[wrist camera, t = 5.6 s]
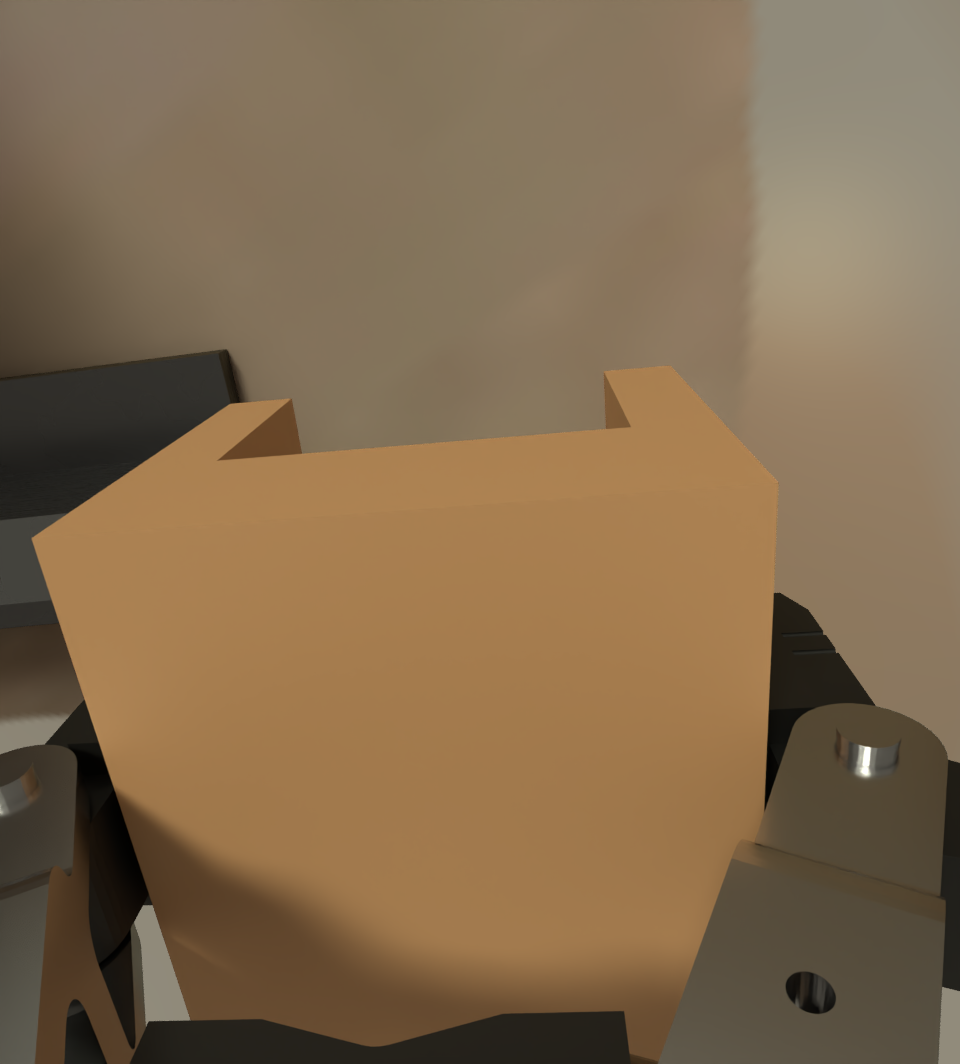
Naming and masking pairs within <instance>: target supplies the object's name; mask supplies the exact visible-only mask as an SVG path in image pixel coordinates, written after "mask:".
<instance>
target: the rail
mask: <svg viewBox="0 0 960 1064" xmlns="http://www.w3.org/2000/svg"><path fill="white" fill-rule="evenodd" d="M235 403H240V402H239V397H238V393H237V389H236V385H235V381H234V377H233V373H232V369H231V365H230V361H229V356H228V352H227V349H226V350H218V351H210V352H202V353H194V354H187V355H179V356H171V357H163V358H155V359H148V360H140V361H132V362H124V363H117V364H109V365H101V366H93V367H85V368H78V369H70V370H62V371H54V372H46V373H39V374H31V375H23V376H15V377H7V378H0V629H1V628H12V627H22V626H33V625H43V624H54V623H59V620H58V617H57V614H56V611H55V608H54V605H53V602H52V599H51V596H50V593H49V590H48V587H47V584H46V581H45V578H44V575H43V572H42V569H41V566H40V563H39V560H38V557H37V554H36V551H35V548H34V545H33V542H32V538H33V537H34V536H35V535H37V534H38V533H40V532H41V531H43V530H44V529H46V528H47V527H49V526H50V525H52V524H53V523H55V522H56V521H58V520H59V519H61V518H62V517H64V516H65V515H67V514H68V513H69V512H71V511H72V510H74V509H75V508H77V507H78V506H80V505H81V504H83V503H84V502H86V501H87V500H89V499H90V498H92V497H93V496H95V495H96V494H98V493H99V492H101V491H102V490H104V489H105V488H106V487H108V486H109V485H111V484H112V483H114V482H115V481H117V480H118V479H120V478H121V477H123V476H124V475H126V474H127V473H129V472H130V471H132V470H133V469H135V468H136V467H138V466H139V465H140V464H142V463H143V462H145V461H146V460H148V459H149V458H151V457H152V456H154V455H155V454H157V453H158V452H160V451H161V450H163V449H164V448H166V447H167V446H169V445H170V444H172V443H173V442H174V441H176V440H177V439H179V438H180V437H182V436H183V435H185V434H186V433H188V432H189V431H191V430H192V429H194V428H195V427H197V426H198V425H200V424H201V423H203V422H204V421H206V420H207V419H209V418H210V417H211V416H213V415H214V414H216V413H217V412H219V411H220V410H222V409H223V408H225V407H226V406H228V405H229V404H235Z"/></svg>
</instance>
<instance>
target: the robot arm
mask: <svg viewBox="0 0 960 1064" xmlns="http://www.w3.org/2000/svg"><path fill="white" fill-rule="evenodd" d="M143 905H152V902H151V899H150V896H149V892H148V889H147V886H146V883H145V880H144V877H143V874H142V871H141V868H140V865H139V862H138V859H137V856H136V853H135V850H134V847H133V844H132V841H131V838H130V835H129V832H128V829H127V826H126V823H125V820H124V817H123V814H122V811H121V808H120V805H119V802H118V799H117V796H116V793H115V790H114V787H113V784H112V781H111V778H110V774H109V771H108V768H107V765H106V762H105V759H104V756H103V753H102V750H101V747H100V744H99V741H98V738H97V735H96V732H95V729H94V726H93V723H92V720H91V717H90V714H89V711H88V708H87V705H86V702H85V699H84V700H83V702H82V703H81V704H80V705H79V706H78V707H77V708H76V710H75V711H74V712H73V713H72V714H71V715H70V716H69V717H68V719H67V720H66V721H65V722H64V723H63V724H62V725H61V727H60V728H59V729H58V730H57V731H56V732H55V733H54V735H53V736H52V737H51V738H50V739H49V740H48V741H47V743H46V744H45V745H35V746H29V747H24V748H20V749H16V750H12V751H9V752H7V753H3V754H0V1064H938V1057H939V1037H940V1016H941V997H942V987H945V988H949V989H954V990H957V991H960V763H958V762H954V761H950V760H948V756H947V752H946V750H945V747H944V745H943V744H942V742H941V741H940V740H939V739H938V737H937V736H935V734H934V733H933V732H932V731H930V730H929V729H928V728H926V727H925V726H924V725H922V724H921V723H919V722H917V721H915V720H913V719H911V718H910V717H907V716H905V715H903V714H900V713H898V712H895V711H892V710H889V709H885V708H881V707H877V706H875V704H874V703H873V701H872V700H871V698H870V697H869V696H868V694H867V693H866V691H865V690H864V688H863V687H862V686H861V684H860V683H859V681H858V680H857V679H856V677H855V676H854V674H853V673H852V671H851V670H850V669H849V667H848V666H847V664H846V663H845V661H844V660H843V659H842V657H841V656H840V654H839V653H836V652H835V647H834V646H833V644H832V643H831V642H830V640H829V639H828V637H827V636H826V635H823V630H822V629H821V627H820V626H819V624H818V623H817V622H816V620H815V619H814V617H813V616H812V615H811V613H810V612H809V610H808V609H806V608H804V607H803V606H801V605H799V604H798V603H796V602H794V601H793V600H791V599H789V598H788V597H786V596H784V595H783V594H781V593H774V598H773V621H772V644H771V666H770V689H769V712H768V735H767V757H766V780H765V803H764V815H763V818H762V821H761V824H760V827H759V830H758V833H757V836H756V839H755V842H751V841H748V840H744V839H742V840H740V841H739V843H738V844H737V846H736V848H735V850H734V853H733V856H732V858H731V861H730V864H729V866H728V869H727V872H726V875H725V878H724V880H723V883H722V886H721V889H720V892H719V894H718V897H717V900H716V903H715V906H714V908H713V911H712V914H711V917H710V919H709V922H708V925H707V928H706V931H705V933H704V936H703V939H702V942H701V945H700V947H699V950H698V953H697V956H696V958H695V961H694V964H693V967H692V970H691V972H690V975H689V978H688V981H687V984H686V986H685V989H684V992H683V995H682V997H681V1000H680V1003H679V1006H678V1009H677V1011H676V1014H675V1017H674V1020H673V1023H672V1025H671V1028H670V1031H669V1034H668V1037H667V1039H666V1042H665V1045H664V1048H663V1050H662V1053H661V1056H660V1059H659V1062H658V1061H655V1060H652V1059H648V1058H644V1057H641V1056H637V1055H633V1054H630V1053H629V1045H628V1037H627V1030H626V1022H625V1014H624V1011H601V1012H556V1013H511V1014H500V1015H496V1016H493V1017H489V1018H485V1019H482V1020H478V1021H474V1022H471V1023H467V1024H463V1025H460V1026H456V1027H452V1028H448V1029H445V1030H441V1031H437V1032H434V1033H430V1034H426V1035H423V1036H419V1037H415V1038H412V1039H408V1040H404V1041H401V1042H397V1043H393V1044H390V1045H385V1046H375V1047H370V1046H364V1045H360V1044H356V1043H352V1042H348V1041H344V1040H340V1039H337V1038H333V1037H329V1036H325V1035H321V1034H317V1033H313V1032H310V1031H306V1030H302V1029H298V1028H294V1027H290V1026H286V1025H283V1024H279V1023H275V1022H271V1021H267V1020H263V1019H239V1020H193V1021H149V1022H148V1024H147V1026H146V1022H145V1005H144V989H143V988H144V987H143V972H142V955H141V944H140V939H139V936H138V933H137V930H136V927H135V925H134V921H135V919H136V917H137V915H138V913H139V911H140V910H141V908H142V906H143Z"/></svg>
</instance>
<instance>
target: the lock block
mask: <svg viewBox="0 0 960 1064" xmlns="http://www.w3.org/2000/svg"><path fill="white" fill-rule="evenodd" d="M604 389H605V415H606V429H602V430H590V431H578V432H565V433H553V434H541V435H528V436H516V437H504V438H491V439H479V440H467V441H454V442H442V443H430V444H417V445H405V446H393V447H380V448H368V449H356V450H343V451H331V452H319V453H306V454H302V452H301V446H300V441H299V436H298V430H297V425H296V420H295V414H294V409H293V403H292V399H281V400H269V401H258V402H246V403H235V404H229V405H228V406H226V407H225V408H223V409H222V410H220V411H219V412H217V413H216V414H214V415H213V416H211V417H210V418H209V419H207V420H206V421H204V422H203V423H201V424H200V425H198V426H197V427H195V428H194V429H192V430H191V431H189V432H188V433H186V434H185V435H183V436H182V437H180V438H179V439H177V440H176V441H174V442H173V443H172V444H170V445H169V446H167V447H166V448H164V449H163V450H161V451H160V452H158V453H157V454H155V455H154V456H152V457H151V458H149V459H148V460H146V461H145V462H143V463H142V464H140V465H139V466H138V467H136V468H135V469H133V470H132V471H130V472H129V473H127V474H126V475H124V476H123V477H121V478H120V479H118V480H117V481H115V482H114V483H112V484H111V485H109V486H108V487H106V488H105V489H104V490H102V491H101V492H99V493H98V494H96V495H95V496H93V497H92V498H90V499H89V500H87V501H86V502H84V503H83V504H81V505H80V506H78V507H77V508H75V509H74V510H72V511H71V512H69V513H68V514H67V515H65V516H64V517H62V518H61V519H59V520H58V521H56V522H55V523H53V524H52V525H50V526H49V527H47V528H46V529H44V530H43V531H41V532H40V533H38V534H37V535H35V536H34V537H33V538H32V542H33V545H34V548H35V551H36V554H37V557H38V560H39V563H40V566H41V569H42V572H43V575H44V578H45V581H46V584H47V587H48V590H49V593H50V596H51V599H52V602H53V605H54V608H55V611H56V614H57V617H58V620H59V623H60V626H61V629H62V632H63V635H64V638H65V641H66V644H67V647H68V650H69V653H70V656H71V660H72V663H73V666H74V669H75V672H76V675H77V678H78V681H79V684H80V687H81V690H82V693H83V696H84V699H85V702H86V705H87V708H88V711H89V714H90V717H91V720H92V723H93V726H94V729H95V732H96V735H97V738H98V741H99V744H100V747H101V750H102V753H103V756H104V759H105V762H106V765H107V768H108V771H109V774H110V778H111V781H112V784H113V787H114V790H115V793H116V796H117V799H118V802H119V805H120V808H121V811H122V814H123V817H124V820H125V823H126V826H127V829H128V832H129V835H130V838H131V841H132V844H133V847H134V850H135V853H136V856H137V859H138V862H139V865H140V868H141V871H142V874H143V877H144V880H145V883H146V886H147V889H148V892H149V896H150V899H151V902H152V905H153V908H154V911H155V913H156V917H157V920H158V923H159V926H160V929H161V932H162V935H163V938H164V941H165V944H166V947H167V950H168V953H169V956H170V959H171V962H172V965H173V968H174V971H175V974H176V977H177V980H178V983H179V986H180V989H181V992H182V995H183V998H184V1001H185V1004H186V1007H187V1010H188V1014H189V1017H190V1020H191V1021H193V1020H239V1019H263V1020H267V1021H271V1022H275V1023H279V1024H283V1025H286V1026H290V1027H294V1028H298V1029H302V1030H306V1031H310V1032H313V1033H317V1034H321V1035H325V1036H329V1037H333V1038H337V1039H340V1040H344V1041H348V1042H352V1043H356V1044H360V1045H364V1046H370V1047H375V1046H385V1045H390V1044H393V1043H397V1042H401V1041H404V1040H408V1039H412V1038H415V1037H419V1036H423V1035H426V1034H430V1033H434V1032H437V1031H441V1030H445V1029H448V1028H452V1027H456V1026H460V1025H463V1024H467V1023H471V1022H474V1021H478V1020H482V1019H485V1018H489V1017H493V1016H496V1015H500V1014H511V1013H556V1012H601V1011H624V1014H625V1022H626V1030H627V1037H628V1045H629V1053H630V1054H633V1055H637V1056H641V1057H644V1058H648V1059H652V1060H655V1061H658V1062H659V1059H660V1056H661V1053H662V1050H663V1048H664V1045H665V1042H666V1039H667V1037H668V1034H669V1031H670V1028H671V1025H672V1023H673V1020H674V1017H675V1014H676V1011H677V1009H678V1006H679V1003H680V1000H681V997H682V995H683V992H684V989H685V986H686V984H687V981H688V978H689V975H690V972H691V970H692V967H693V964H694V961H695V958H696V956H697V953H698V950H699V947H700V945H701V942H702V939H703V936H704V933H705V931H706V928H707V925H708V922H709V919H710V917H711V914H712V911H713V908H714V906H715V903H716V900H717V897H718V894H719V892H720V889H721V886H722V883H723V880H724V878H725V875H726V872H727V869H728V866H729V864H730V861H731V858H732V856H733V853H734V850H735V848H736V846H737V844H738V843H739V841H740V840H742V839H744V840H748V841H751V842H755V839H756V836H757V833H758V830H759V827H760V824H761V821H762V818H763V815H764V803H765V780H766V757H767V735H768V712H769V689H770V666H771V644H772V621H773V598H774V575H775V552H776V530H777V508H778V484H779V483H778V482H777V481H776V480H775V478H774V477H773V476H772V475H771V474H770V473H769V472H768V471H767V470H766V469H765V467H764V466H763V465H762V464H761V463H760V462H759V461H758V460H757V459H756V458H755V457H754V456H753V455H752V453H751V452H750V451H749V450H748V449H747V448H746V447H745V446H744V445H743V444H742V443H741V442H740V440H739V439H738V438H737V437H736V436H735V435H734V434H733V433H732V432H731V431H730V430H729V429H728V428H727V426H726V425H725V424H724V423H723V422H722V421H721V420H720V419H719V418H718V417H717V416H716V415H715V413H714V412H713V411H712V410H711V409H710V408H709V407H708V406H707V405H706V404H705V403H704V402H703V401H702V399H701V398H700V397H699V396H698V395H697V394H696V393H695V392H694V391H693V390H692V389H691V388H690V386H689V385H688V384H687V383H686V382H685V381H684V380H683V379H682V378H681V377H680V376H679V375H678V374H677V372H676V371H675V370H674V369H673V368H672V367H671V366H660V367H649V368H637V369H626V370H614V371H604Z"/></svg>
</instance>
